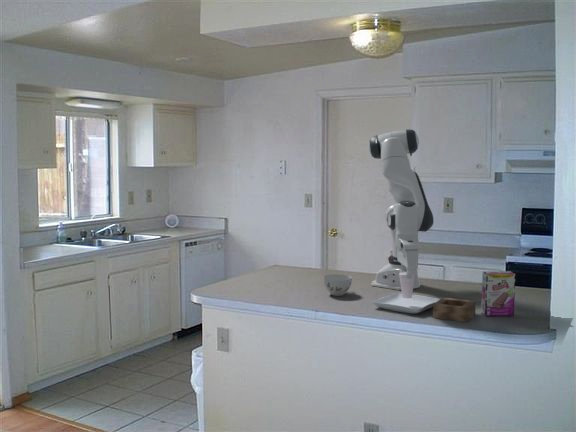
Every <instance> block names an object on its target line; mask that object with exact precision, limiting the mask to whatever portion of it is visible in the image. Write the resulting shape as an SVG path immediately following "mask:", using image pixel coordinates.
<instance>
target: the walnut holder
mask: <svg viewBox="0 0 576 432" xmlns="http://www.w3.org/2000/svg"><path fill="white" fill-rule="evenodd" d="M439 299H440V300H439V301H437V302H436V303H434V304H433V307H432V318H434V319H442V320H448V321H457V322H465V323H467V322H468V321H470V319H472V318H473V317H474V316H475V315H476V300H469V299H459V298H452V297H441V298H439Z"/></svg>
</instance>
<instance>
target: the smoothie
mask: <svg viewBox="0 0 576 432" xmlns="http://www.w3.org/2000/svg"><path fill="white" fill-rule="evenodd" d="M399 276H400V283H401V293H402V297H403V298H412V294H413V292H414V289H413V283H414V277H415V273H412V278H411V279H408V278H407V272H401V273H399Z"/></svg>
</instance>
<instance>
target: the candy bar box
mask: <svg viewBox="0 0 576 432" xmlns="http://www.w3.org/2000/svg"><path fill="white" fill-rule="evenodd" d="M481 281H482V282H481V303H480V304H481V305H480V308H481V309H480V312H481V314H482V315H483V316H484V317H514V314H515V297H516V296H515V294H516V293H515V292H516V291H515V290H516V273H514V272H513V271H511V270H505V271H502V270H501V271H500V270H499V271H491V270H490V271H487V270H486V271H482V279H481Z"/></svg>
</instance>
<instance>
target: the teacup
mask: <svg viewBox="0 0 576 432" xmlns="http://www.w3.org/2000/svg"><path fill="white" fill-rule="evenodd" d="M352 281H353V277H352V276H351V275H348V274H338V273H331V274H330V273H329V274H325V275H324V276H323V284H324V286H325V289H326V291H328V293H329V294H330V295H332V296H334V297H335V296H337V297H340V296H344V295H345V294H346V293H347V292H348V291H349V289H350V288H351V285H352Z"/></svg>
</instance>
